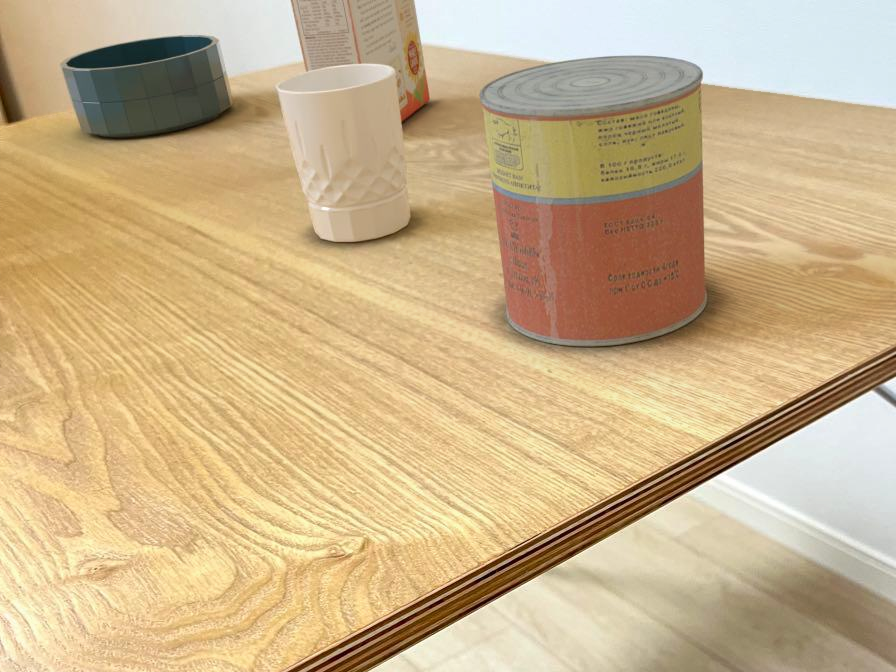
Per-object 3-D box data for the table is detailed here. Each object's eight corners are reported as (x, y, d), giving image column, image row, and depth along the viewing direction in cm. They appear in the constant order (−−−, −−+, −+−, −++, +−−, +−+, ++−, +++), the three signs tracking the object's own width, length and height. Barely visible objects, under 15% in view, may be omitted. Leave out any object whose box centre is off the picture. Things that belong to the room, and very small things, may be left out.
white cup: (319, 213, 84) (289, 69, 78) (425, 204, 83) (402, 58, 78) (296, 250, 77) (262, 97, 72) (411, 241, 77) (385, 85, 71)
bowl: (49, 137, 114) (26, 68, 110) (158, 98, 125) (141, 34, 121) (158, 143, 107) (138, 70, 104) (264, 102, 118) (249, 34, 114)
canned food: (694, 259, 69) (689, 46, 62) (719, 335, 59) (716, 95, 53) (508, 277, 69) (483, 68, 63) (504, 355, 60) (474, 120, 53)
